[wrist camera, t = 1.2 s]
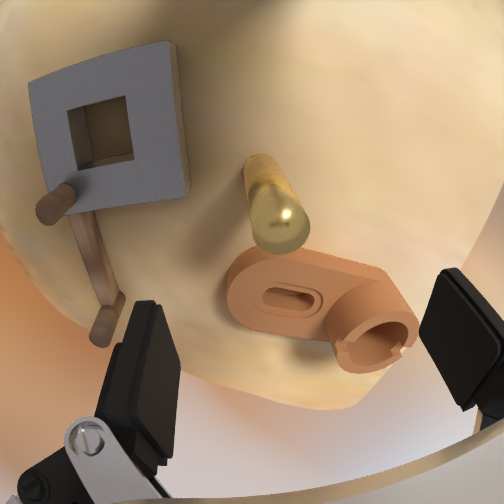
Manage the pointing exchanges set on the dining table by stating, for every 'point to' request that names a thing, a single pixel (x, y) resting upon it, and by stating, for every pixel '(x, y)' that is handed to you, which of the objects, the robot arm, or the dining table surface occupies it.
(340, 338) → the bracket
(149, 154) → the collar block
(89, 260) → the brown drawer handle
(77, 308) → the dining table surface
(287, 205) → the pin
